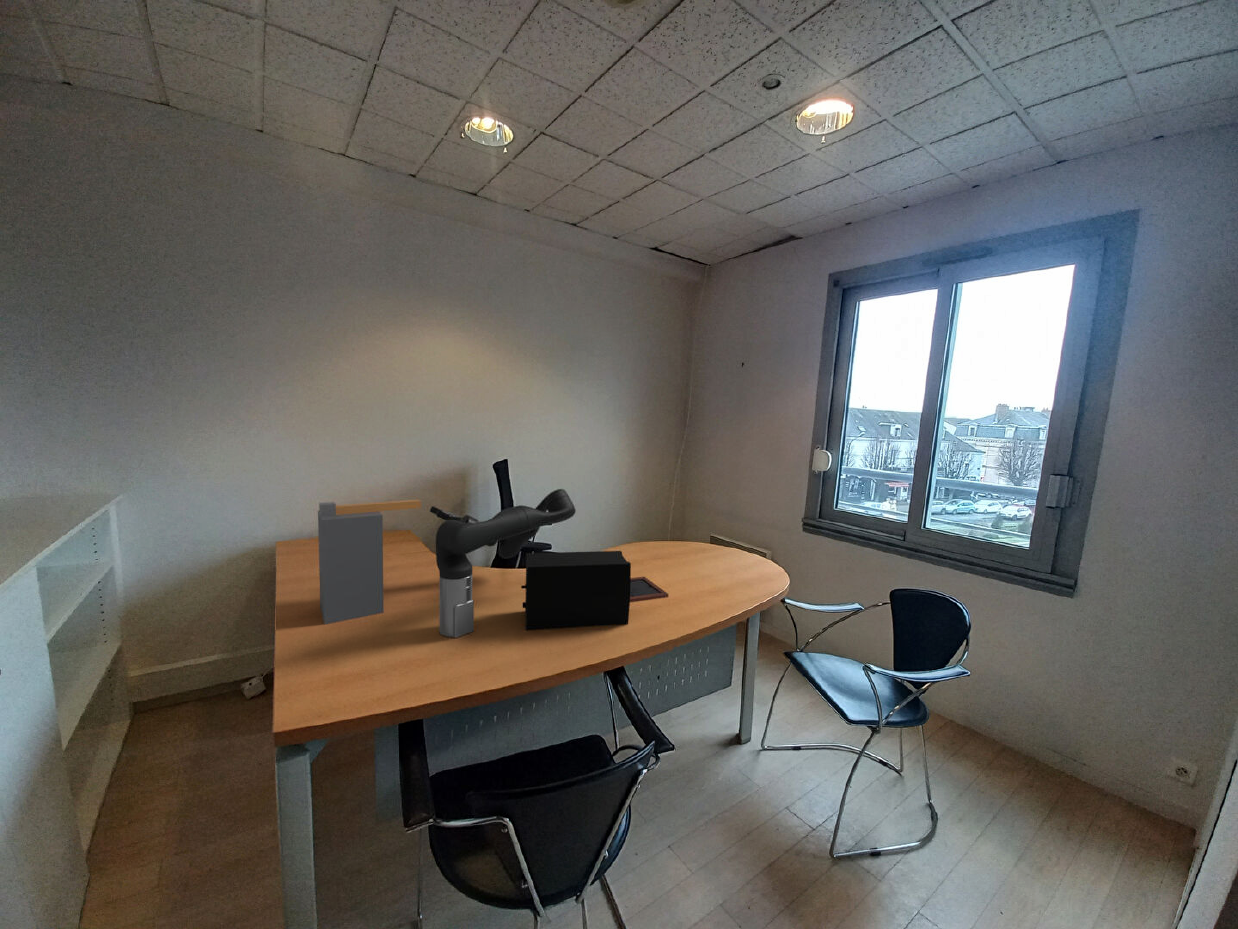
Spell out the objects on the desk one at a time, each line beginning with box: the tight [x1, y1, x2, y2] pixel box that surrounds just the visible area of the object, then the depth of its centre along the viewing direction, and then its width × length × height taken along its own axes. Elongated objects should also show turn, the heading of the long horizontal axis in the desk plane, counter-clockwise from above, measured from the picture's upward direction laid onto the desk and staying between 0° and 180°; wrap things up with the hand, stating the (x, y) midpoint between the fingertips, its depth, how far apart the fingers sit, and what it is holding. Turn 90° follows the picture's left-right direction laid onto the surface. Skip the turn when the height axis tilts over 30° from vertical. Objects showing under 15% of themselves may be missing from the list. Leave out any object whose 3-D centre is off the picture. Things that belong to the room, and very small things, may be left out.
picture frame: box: [630, 576, 669, 603], centre depth 172 cm, size 20×2×25 cm
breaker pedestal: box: [317, 509, 385, 625], centre depth 145 cm, size 16×16×32 cm
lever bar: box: [318, 498, 422, 516], centre depth 147 cm, size 29×4×4 cm, turn 127°
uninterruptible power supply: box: [520, 550, 632, 631], centre depth 146 cm, size 16×34×20 cm, turn 103°
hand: (434, 510), depth 160 cm, fingers open, 8 cm apart
